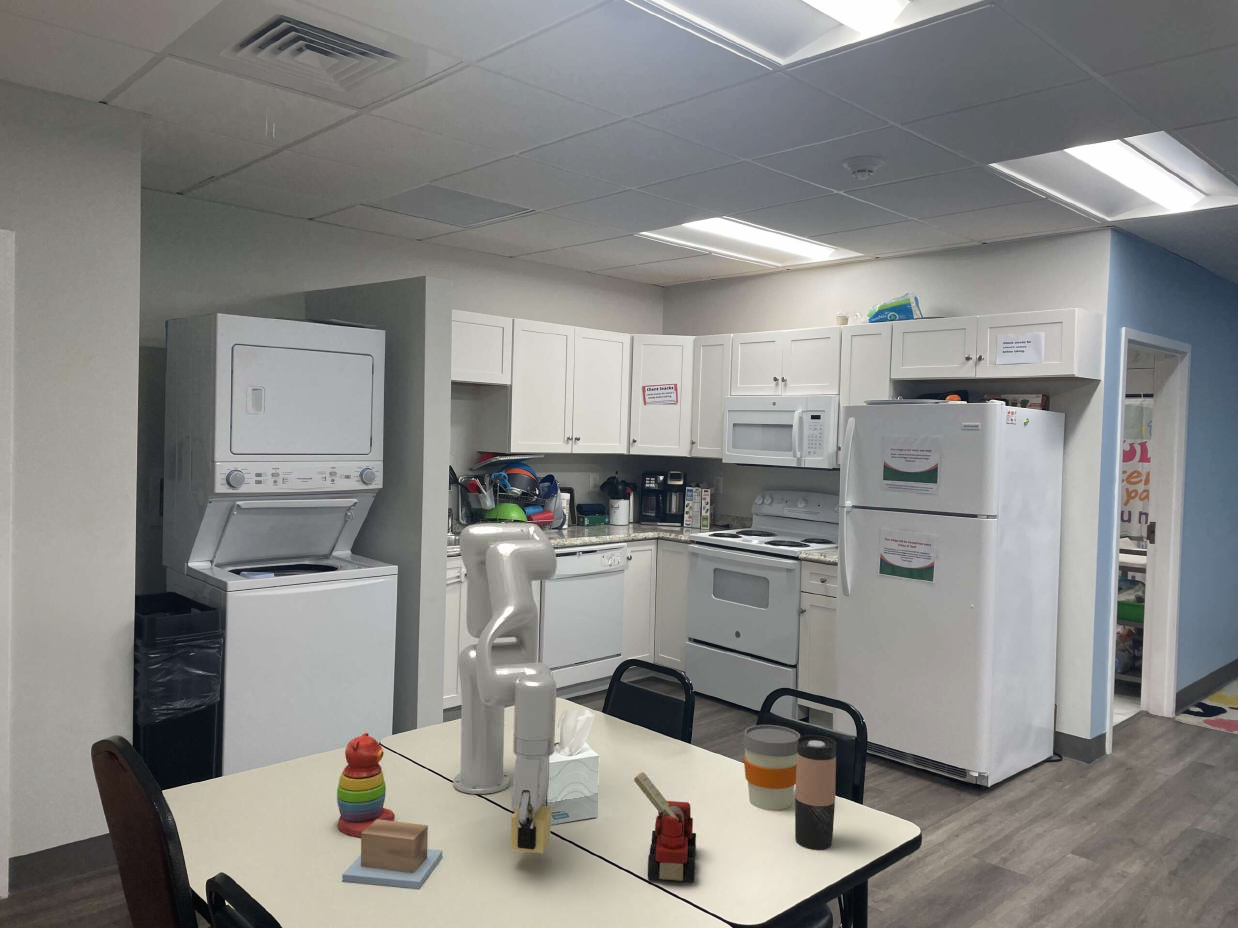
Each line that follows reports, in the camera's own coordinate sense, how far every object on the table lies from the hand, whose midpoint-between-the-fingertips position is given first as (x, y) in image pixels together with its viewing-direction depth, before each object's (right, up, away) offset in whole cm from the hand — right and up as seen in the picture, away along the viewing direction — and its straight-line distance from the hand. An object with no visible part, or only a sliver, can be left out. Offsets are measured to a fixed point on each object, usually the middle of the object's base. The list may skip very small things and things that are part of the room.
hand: (530, 838), depth 166 cm
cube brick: (0, -1, 0) cm, 1 cm away
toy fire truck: (+25, -6, +1) cm, 25 cm away
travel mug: (+54, -6, +12) cm, 56 cm away
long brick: (-24, -3, -3) cm, 25 cm away
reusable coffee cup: (+49, -5, +31) cm, 58 cm away
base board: (-24, -4, -3) cm, 25 cm away
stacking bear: (-35, -3, +14) cm, 38 cm away
